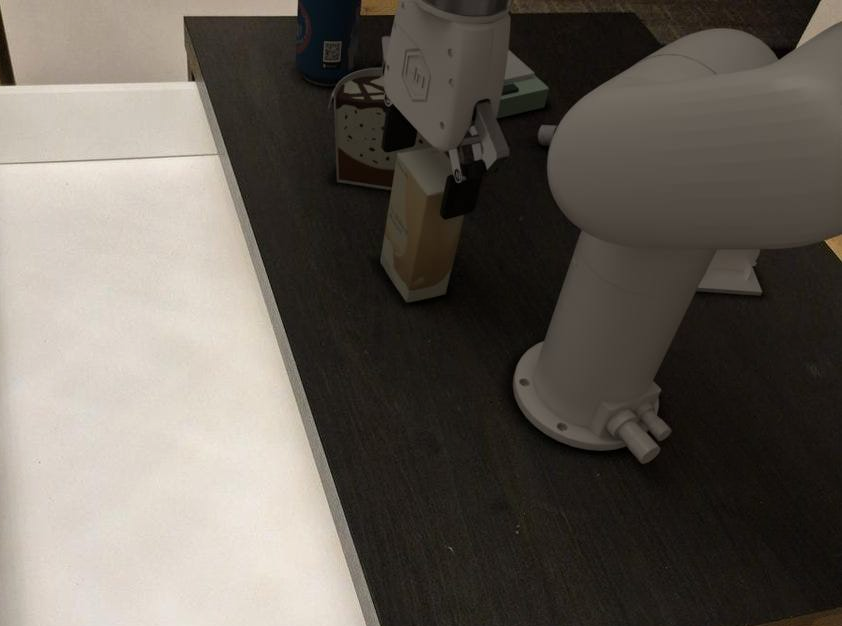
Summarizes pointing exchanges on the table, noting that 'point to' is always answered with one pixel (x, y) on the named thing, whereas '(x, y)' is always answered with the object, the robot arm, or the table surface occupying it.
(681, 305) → the robot arm
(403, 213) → the cosmetic box
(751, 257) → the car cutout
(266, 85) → the table surface
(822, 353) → the table surface
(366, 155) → the food container
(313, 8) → the soda can
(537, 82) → the scale
